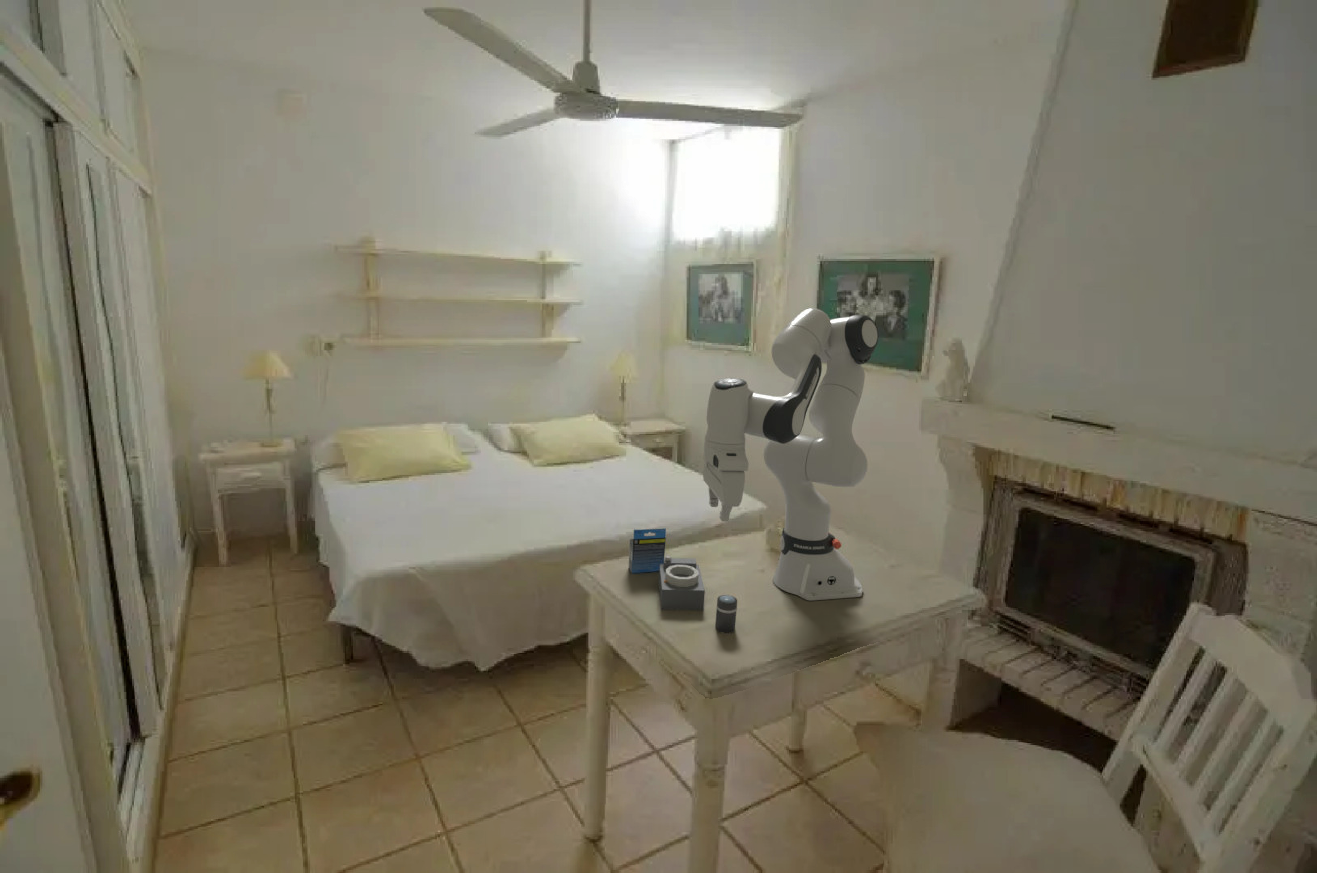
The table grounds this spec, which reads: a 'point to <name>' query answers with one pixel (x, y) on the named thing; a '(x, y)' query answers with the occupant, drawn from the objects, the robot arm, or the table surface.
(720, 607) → the lens
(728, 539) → the table surface
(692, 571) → the camera body
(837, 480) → the robot arm
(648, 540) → the label tape box
